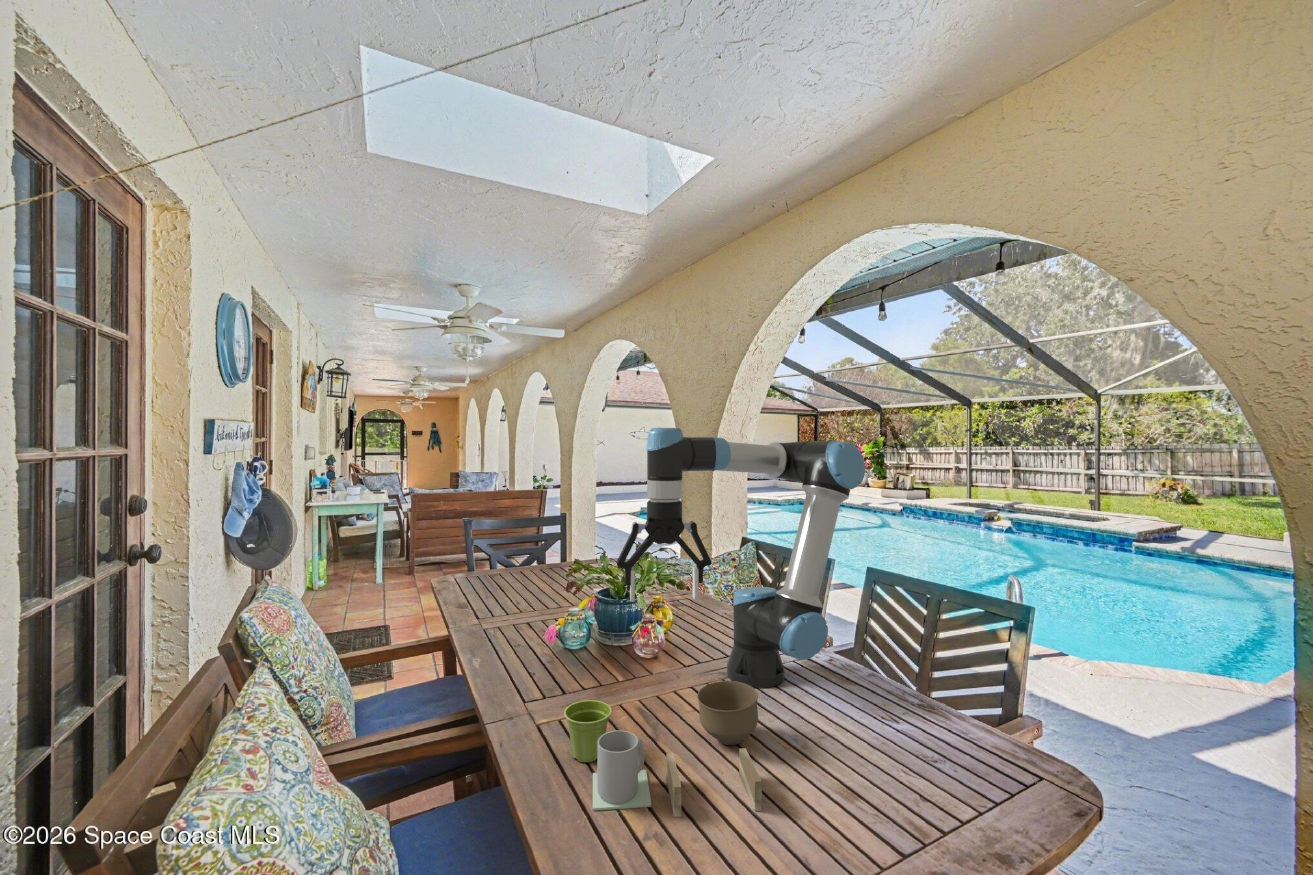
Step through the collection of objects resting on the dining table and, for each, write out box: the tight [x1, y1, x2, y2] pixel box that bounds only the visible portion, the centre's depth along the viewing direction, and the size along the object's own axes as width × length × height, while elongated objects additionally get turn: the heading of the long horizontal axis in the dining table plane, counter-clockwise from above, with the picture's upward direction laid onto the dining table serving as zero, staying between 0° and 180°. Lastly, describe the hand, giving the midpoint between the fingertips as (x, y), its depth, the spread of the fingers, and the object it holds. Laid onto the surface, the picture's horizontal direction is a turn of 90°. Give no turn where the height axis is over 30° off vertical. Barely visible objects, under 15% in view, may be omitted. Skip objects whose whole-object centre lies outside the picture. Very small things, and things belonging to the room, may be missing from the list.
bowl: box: [696, 680, 759, 746], centre depth 115 cm, size 13×13×10 cm
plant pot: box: [563, 699, 613, 763], centre depth 110 cm, size 9×9×9 cm
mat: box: [592, 769, 652, 812], centre depth 99 cm, size 10×10×1 cm
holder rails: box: [665, 747, 763, 818], centre depth 98 cm, size 15×10×5 cm, turn 97°
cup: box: [596, 729, 646, 804], centre depth 99 cm, size 7×10×9 cm
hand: (664, 599), depth 118 cm, fingers open, 13 cm apart
